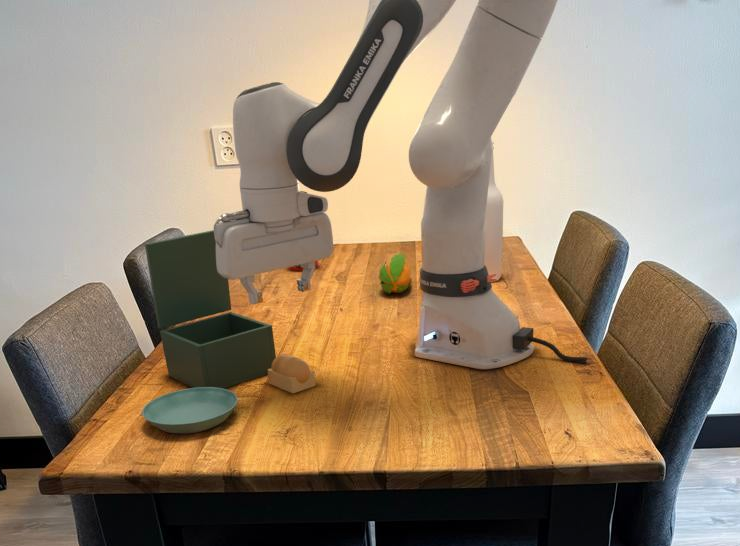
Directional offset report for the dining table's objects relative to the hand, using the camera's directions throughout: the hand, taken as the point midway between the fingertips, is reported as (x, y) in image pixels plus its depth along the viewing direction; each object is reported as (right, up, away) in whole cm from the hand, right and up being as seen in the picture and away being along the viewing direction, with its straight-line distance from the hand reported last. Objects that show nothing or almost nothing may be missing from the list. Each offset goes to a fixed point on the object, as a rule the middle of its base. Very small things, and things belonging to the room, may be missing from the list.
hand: (280, 296), depth 125 cm
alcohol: (+42, +21, +62) cm, 78 cm away
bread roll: (+1, -13, +8) cm, 15 cm away
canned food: (-3, +31, +84) cm, 89 cm away
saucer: (-13, -20, -3) cm, 25 cm away
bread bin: (-12, -10, +15) cm, 21 cm away
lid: (-17, +6, +11) cm, 21 cm away
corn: (+21, +18, +60) cm, 66 cm away
